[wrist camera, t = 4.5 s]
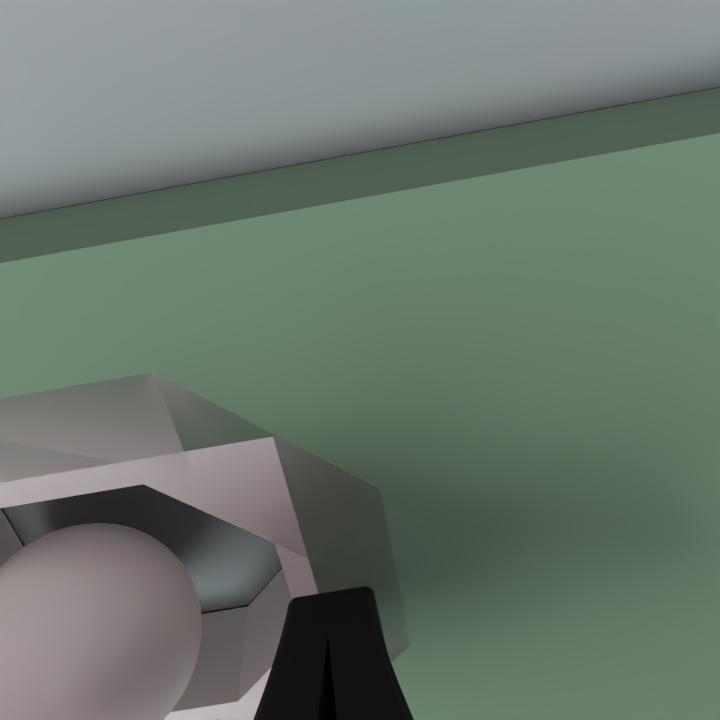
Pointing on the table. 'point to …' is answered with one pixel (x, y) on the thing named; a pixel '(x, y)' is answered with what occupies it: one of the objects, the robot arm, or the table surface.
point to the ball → (96, 627)
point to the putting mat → (412, 401)
